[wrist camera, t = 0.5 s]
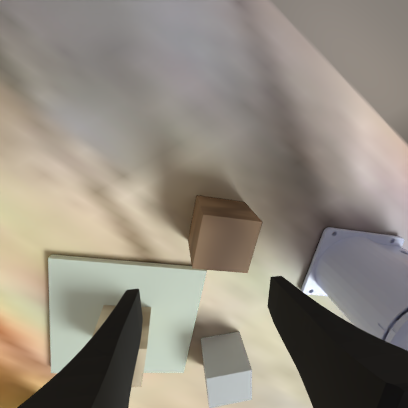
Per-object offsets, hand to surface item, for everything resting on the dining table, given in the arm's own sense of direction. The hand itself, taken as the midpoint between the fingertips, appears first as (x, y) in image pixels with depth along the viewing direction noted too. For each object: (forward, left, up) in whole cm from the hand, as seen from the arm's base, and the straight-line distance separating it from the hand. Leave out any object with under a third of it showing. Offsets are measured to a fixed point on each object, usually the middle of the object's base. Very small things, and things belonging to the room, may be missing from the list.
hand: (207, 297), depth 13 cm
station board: (+5, +11, -9) cm, 16 cm away
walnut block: (-2, -1, -10) cm, 10 cm away
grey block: (-6, +15, -10) cm, 19 cm away
